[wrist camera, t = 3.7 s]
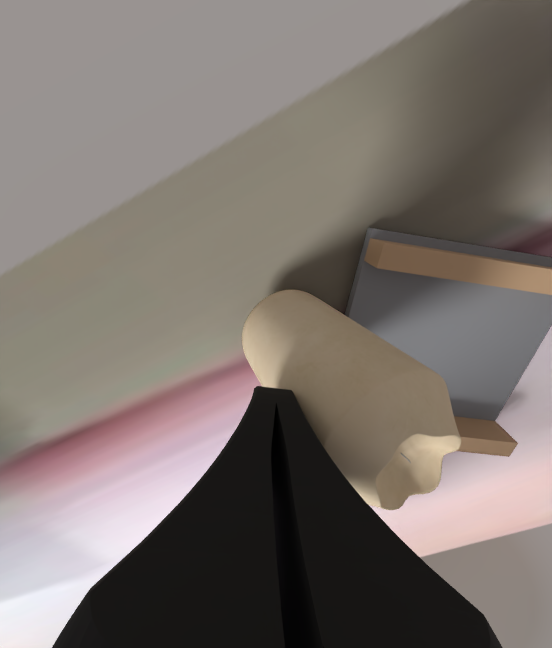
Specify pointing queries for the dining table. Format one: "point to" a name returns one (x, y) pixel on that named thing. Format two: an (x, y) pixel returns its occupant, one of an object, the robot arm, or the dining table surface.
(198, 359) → the dining table surface
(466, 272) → the tray
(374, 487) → the candle
